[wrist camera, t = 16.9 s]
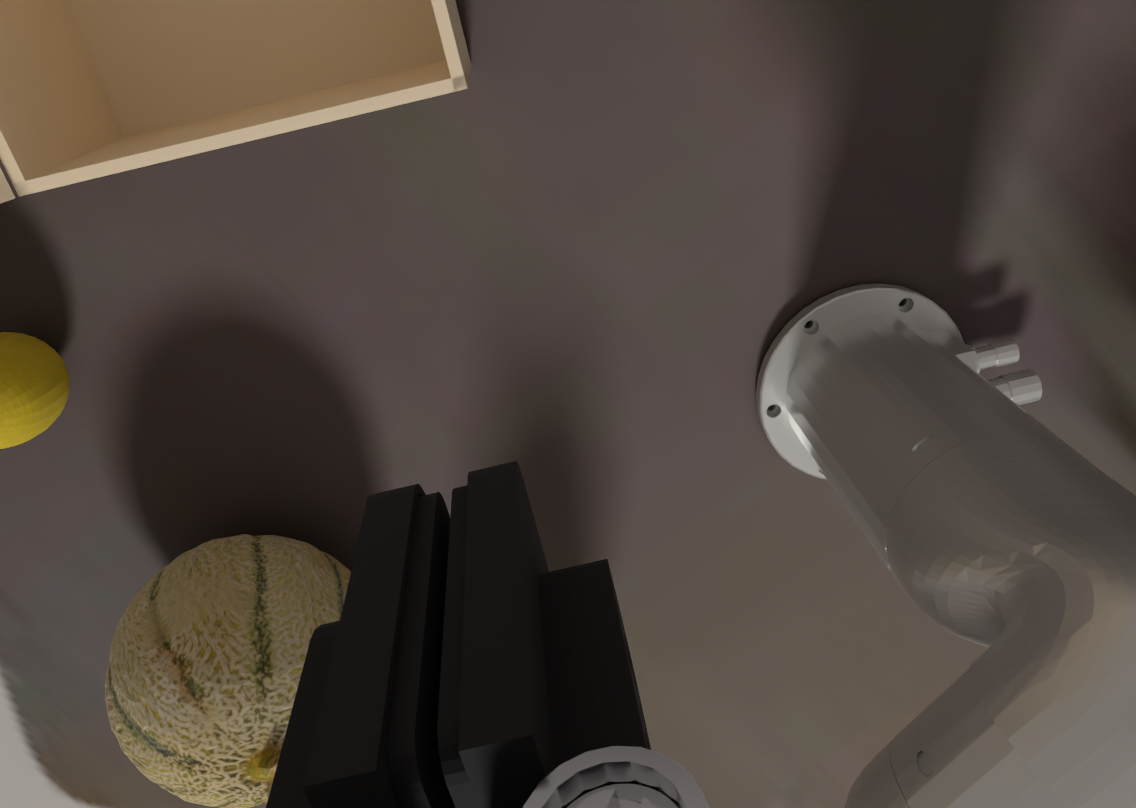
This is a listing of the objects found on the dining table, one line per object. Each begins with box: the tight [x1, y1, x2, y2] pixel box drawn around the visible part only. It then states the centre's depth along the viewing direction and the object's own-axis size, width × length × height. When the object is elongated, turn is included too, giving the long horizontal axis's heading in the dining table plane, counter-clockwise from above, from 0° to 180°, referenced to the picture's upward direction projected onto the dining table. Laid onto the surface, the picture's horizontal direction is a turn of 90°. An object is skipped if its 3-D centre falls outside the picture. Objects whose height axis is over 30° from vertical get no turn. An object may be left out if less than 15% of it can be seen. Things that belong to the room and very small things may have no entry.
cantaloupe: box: [105, 534, 351, 808], centre depth 50 cm, size 15×15×15 cm
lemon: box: [0, 332, 70, 449], centre depth 45 cm, size 6×6×8 cm
